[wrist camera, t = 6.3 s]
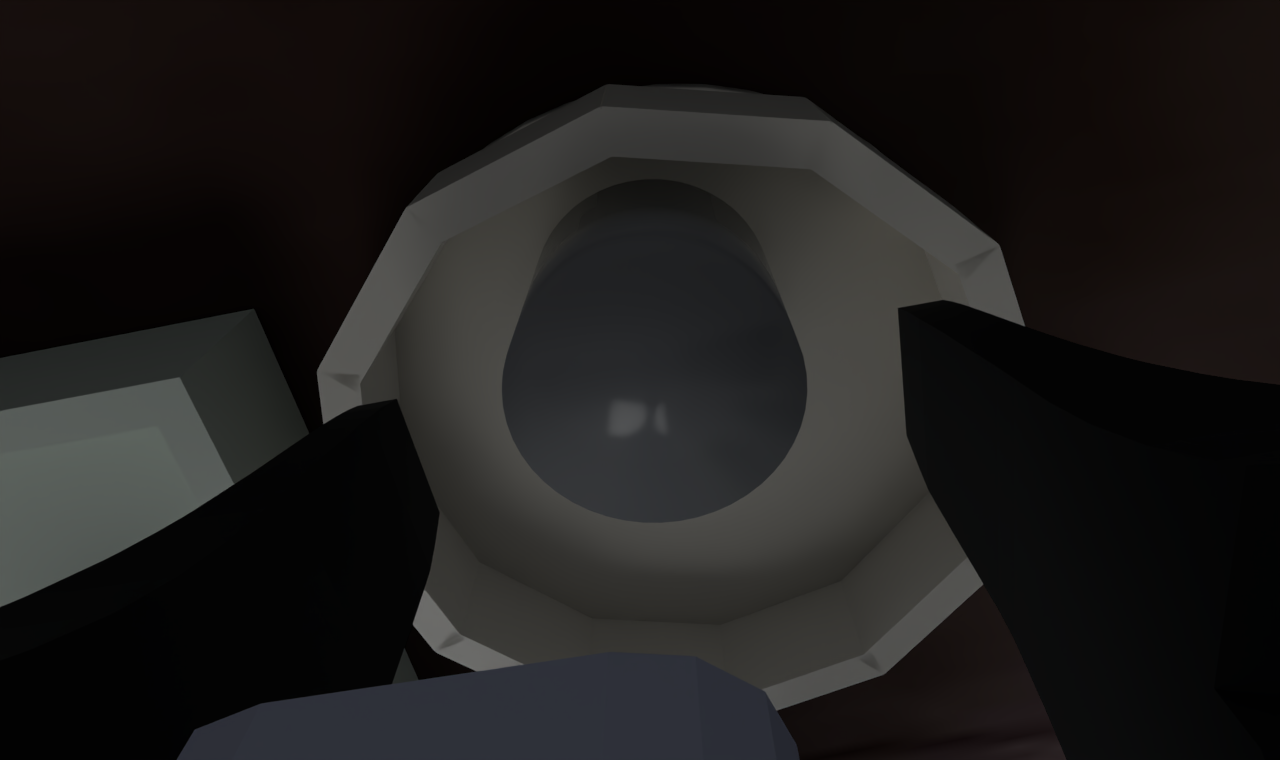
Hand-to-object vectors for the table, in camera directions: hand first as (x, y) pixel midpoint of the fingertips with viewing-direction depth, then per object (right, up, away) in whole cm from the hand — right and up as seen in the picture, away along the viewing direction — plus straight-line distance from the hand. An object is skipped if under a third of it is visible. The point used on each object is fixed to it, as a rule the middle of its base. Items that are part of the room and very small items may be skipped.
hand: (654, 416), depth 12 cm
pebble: (0, +2, +4) cm, 4 cm away
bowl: (0, 0, +6) cm, 6 cm away
